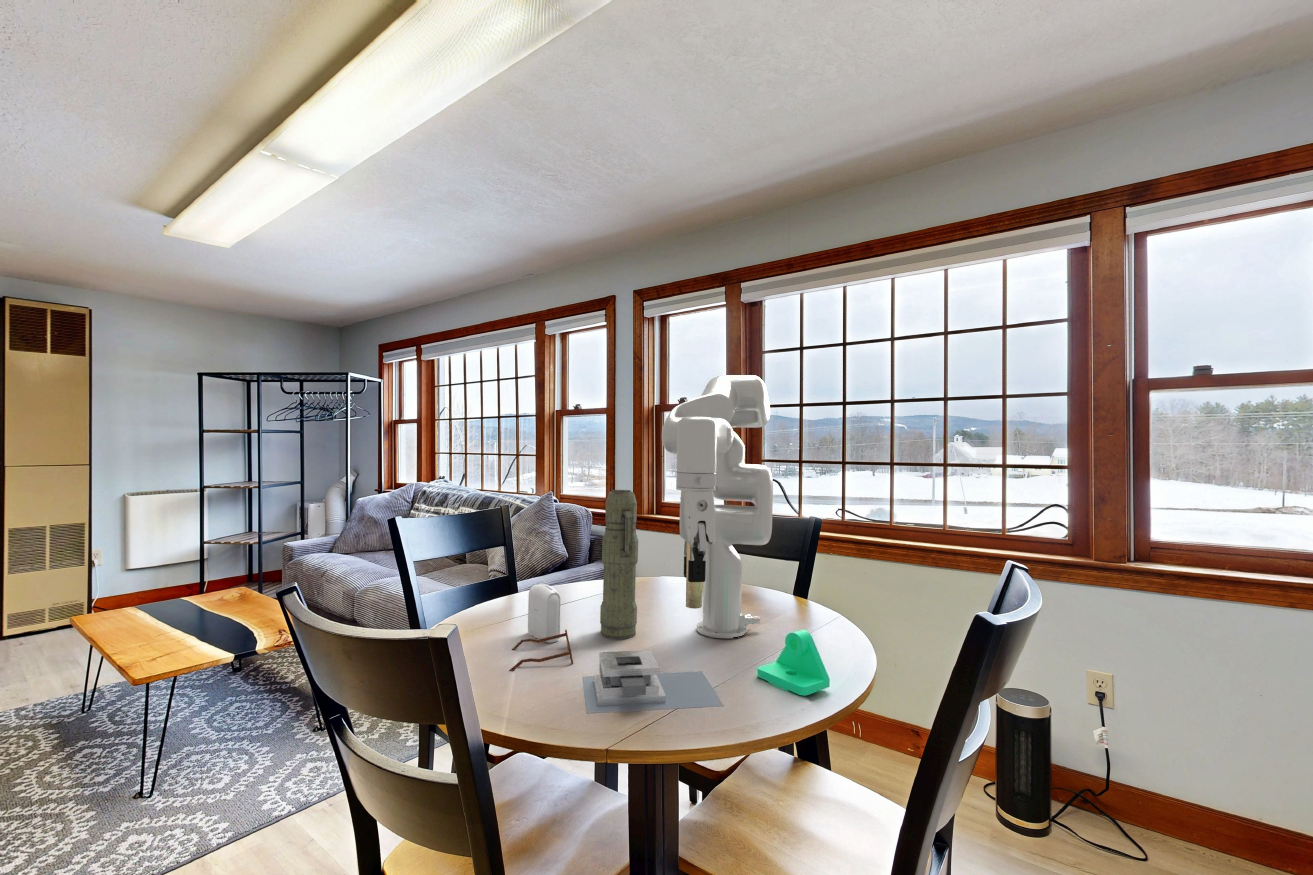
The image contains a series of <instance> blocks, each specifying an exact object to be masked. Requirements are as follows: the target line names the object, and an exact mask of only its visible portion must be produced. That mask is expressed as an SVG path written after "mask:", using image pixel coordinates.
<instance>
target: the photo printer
mask: <svg viewBox="0 0 1313 875" xmlns="http://www.w3.org/2000/svg"><path fill="white" fill-rule="evenodd" d="M527 602H528V603H527V604H528V605H527V606H528V609H527V611H528V612H527V633H528V634H529V635H531V636H532V637H534V638H535V639H537V640H538V639H543V638H547V637H551V636H555V635H559V634H561V628H560V627H561V596H560V594H559V592H558V591H557V590H556V589H555V588H554V587H552V586H550V585H548V584H547V583H546V584H545V583H539V584H534V585H532V586H531V587H530V589H529V591H528V600H527ZM559 640H560V638H556V639H552V640H547V641H544V642H546V643H548V644H549V643H555V642H558V641H559Z"/></svg>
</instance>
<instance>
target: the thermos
mask: <svg viewBox="0 0 1313 875" xmlns="http://www.w3.org/2000/svg"><path fill="white" fill-rule="evenodd" d="M637 504H638V502H637V498H636V495H635V492H634V491H632V490H630V489H612V490H611V491H609V492H608V494H607V498H606V501H605V518H604V519H605V520H604V522H605V528H604V529H605V530H604V535H603V538H602V543H601V544H602V548H601V549H602V550H601V561H602V564H603V576H602V577H603V581H602V584H603V585H602V587H603V588H602V590H603V591H602V592H603V593H602V602H601V605H600V612H599V613H600V616H599V617H600V618H599V619H600V620H599V621H600V622H599V623H600V635H601V636H602V637H603V638H606V639H611V640H625V639H630V638H633V637H634V636H636V634H637V623H638V605H637V603H636V581H637V579H636V578H637V576H636V575H637V574H636V573H637V564H638V562H639V539H638V535H637V527H636V523H637V515H638V514H637V510H638V509H637V508H638V506H637Z"/></svg>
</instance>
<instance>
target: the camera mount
mask: <svg viewBox="0 0 1313 875" xmlns="http://www.w3.org/2000/svg"><path fill="white" fill-rule="evenodd" d="M784 643H785V646H784V648H783V649H782V650H781V653H780V654H779V656H778V657H777V659H776V661H773V662H770V663H766V664H762V665H760V666H757V669H756V671H757V672H756V674H757V677H758V678H760V679H763V680H764V681H766V682H768V684H770V685H772V686H774V687H777V688H779V689H781V690H784V691H786V692H789V691H790V692H792V693H795V694H797V695H800V696H809V695H811V694H815V693H816V692H817V693H818V692H820V691H823V690H825V689H828V688H830V684H831V683H830V680H831V679H830V676H829V675H828V672H827V670H826V667H825V665H824V662H823V660H822V657H821V655H820V653H819V651H818V648H817V645H816V643H815V641H814V638H813V636H812V635H811V633H810V632H809V631H808V630H805V629H799V630H796V631H792V632H789V633H787V634H786V636H785V640H784Z"/></svg>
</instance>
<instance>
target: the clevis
mask: <svg viewBox="0 0 1313 875" xmlns="http://www.w3.org/2000/svg"><path fill="white" fill-rule="evenodd" d="M598 658H599V660H598V662H599V664H598V666H599V667H598V674H593V676H594V687H595V693H596V699H597V705H598V706H610V705H629V704H649V703H666V695H665V693H664V690H663V688H662V686H661V684H660V682H659V679H658V677H657V675H659V673H660V666H659V664H658V662H657V660H656V658H655V656H654V654H653V651H652V650H647V649H645V650H627V651H626V650H623V651H622V650H621V651H620V650H619V651H618V650H617V651H600V652H599V657H598Z"/></svg>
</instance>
